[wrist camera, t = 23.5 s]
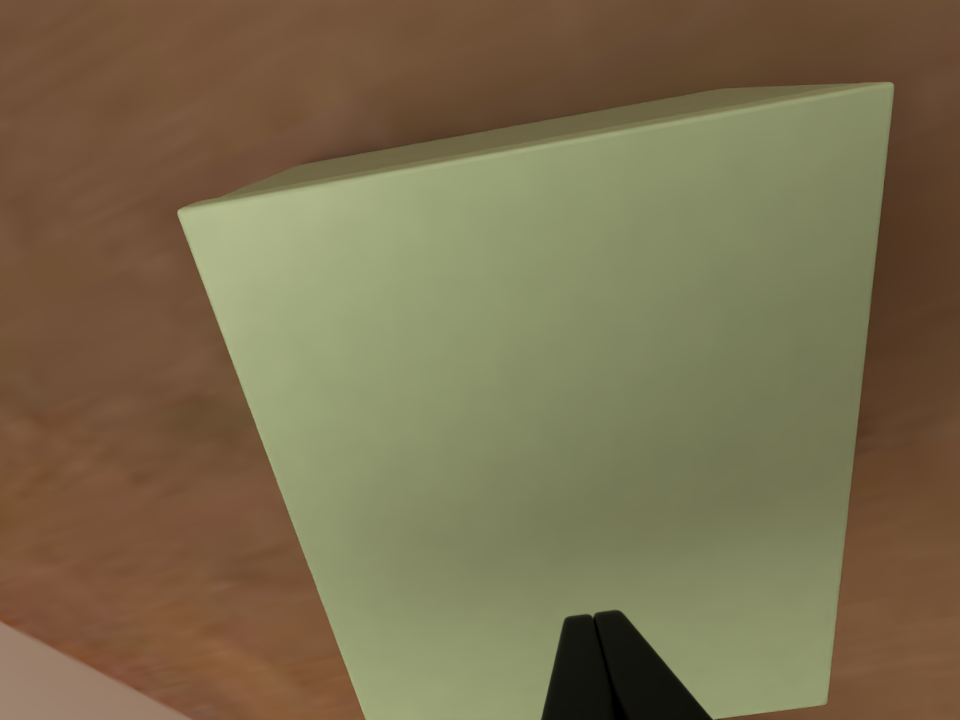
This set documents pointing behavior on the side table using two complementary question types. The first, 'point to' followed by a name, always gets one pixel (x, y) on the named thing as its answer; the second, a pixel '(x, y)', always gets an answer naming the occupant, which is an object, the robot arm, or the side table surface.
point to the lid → (569, 396)
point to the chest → (527, 133)
